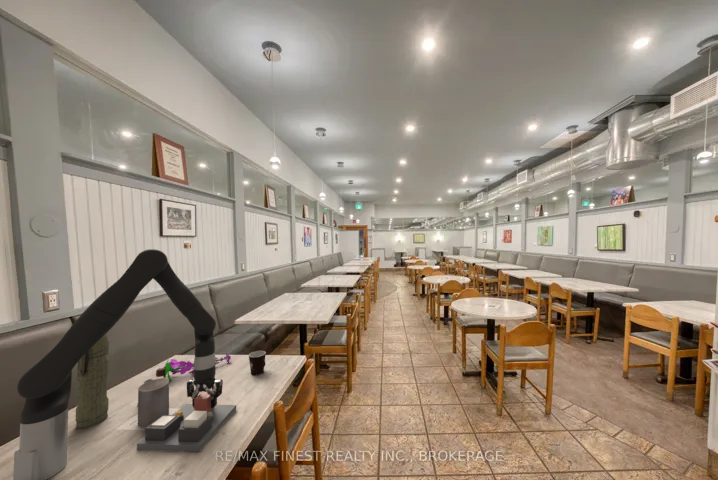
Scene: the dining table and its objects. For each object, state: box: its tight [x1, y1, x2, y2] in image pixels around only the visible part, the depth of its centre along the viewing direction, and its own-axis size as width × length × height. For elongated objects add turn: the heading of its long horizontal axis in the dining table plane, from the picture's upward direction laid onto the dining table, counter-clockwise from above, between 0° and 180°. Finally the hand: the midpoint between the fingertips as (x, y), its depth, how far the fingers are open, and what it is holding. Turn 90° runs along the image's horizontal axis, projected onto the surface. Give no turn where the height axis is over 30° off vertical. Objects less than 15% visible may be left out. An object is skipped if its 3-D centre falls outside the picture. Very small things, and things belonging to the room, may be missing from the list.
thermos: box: [75, 333, 110, 430], centre depth 101 cm, size 9×12×35 cm
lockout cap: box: [194, 391, 213, 413], centre depth 102 cm, size 5×5×6 cm
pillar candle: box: [137, 377, 170, 428], centre depth 101 cm, size 10×10×15 cm
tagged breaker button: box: [151, 416, 175, 427], centre depth 90 cm, size 5×5×4 cm
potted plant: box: [155, 353, 232, 382], centre depth 141 cm, size 12×16×35 cm
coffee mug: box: [248, 350, 267, 376], centre depth 137 cm, size 12×9×10 cm
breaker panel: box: [136, 403, 237, 453], centre depth 95 cm, size 22×22×6 cm
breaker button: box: [184, 411, 207, 428], centre depth 89 cm, size 5×5×4 cm
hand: (204, 406), depth 102 cm, fingers open, 7 cm apart
